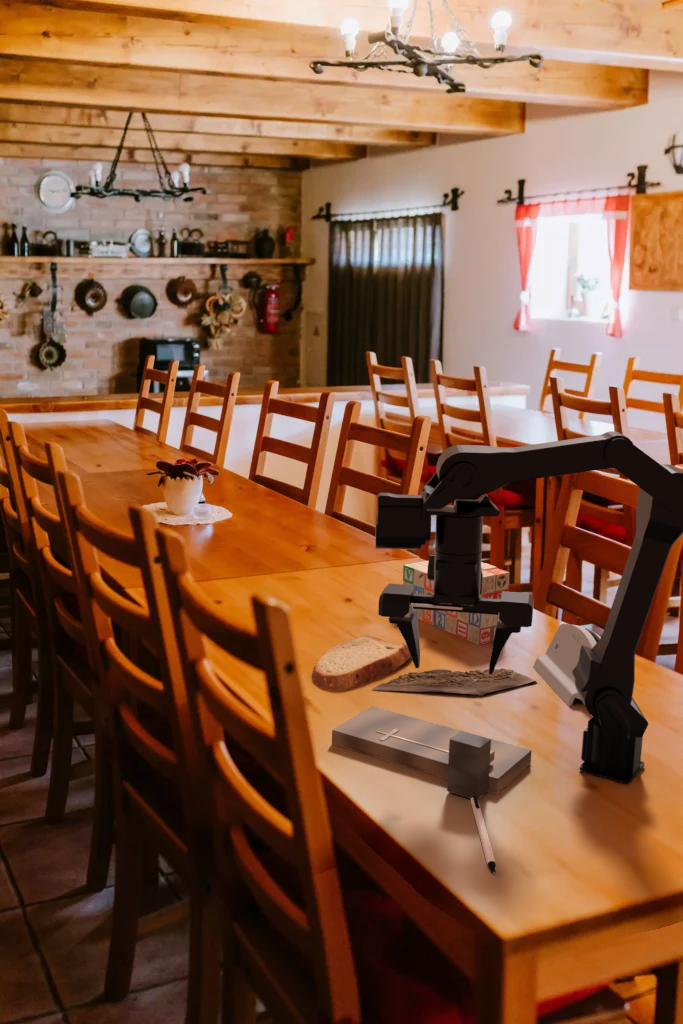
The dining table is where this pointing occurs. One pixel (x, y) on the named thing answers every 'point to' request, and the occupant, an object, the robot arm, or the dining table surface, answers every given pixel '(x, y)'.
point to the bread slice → (358, 662)
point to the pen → (483, 834)
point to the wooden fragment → (456, 681)
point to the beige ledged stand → (564, 659)
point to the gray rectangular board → (422, 745)
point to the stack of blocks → (460, 623)
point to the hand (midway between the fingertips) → (454, 670)
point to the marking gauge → (469, 764)
